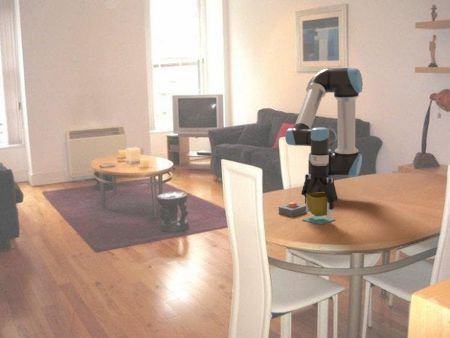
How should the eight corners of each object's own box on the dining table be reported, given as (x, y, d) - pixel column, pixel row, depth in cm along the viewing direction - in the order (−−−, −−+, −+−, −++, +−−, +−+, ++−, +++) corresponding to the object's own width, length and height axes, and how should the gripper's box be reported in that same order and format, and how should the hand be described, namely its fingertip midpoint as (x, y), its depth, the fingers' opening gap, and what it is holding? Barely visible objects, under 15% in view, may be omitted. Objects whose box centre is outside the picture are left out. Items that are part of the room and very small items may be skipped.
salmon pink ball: (292, 210, 247) (292, 201, 246) (298, 211, 244) (298, 203, 243) (286, 211, 244) (286, 203, 244) (292, 213, 241) (292, 204, 241)
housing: (293, 209, 250) (293, 202, 250) (306, 212, 244) (306, 205, 244) (278, 213, 244) (278, 206, 243) (291, 216, 238) (291, 210, 237)
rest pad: (316, 215, 239) (317, 214, 239) (335, 220, 231) (335, 219, 231) (302, 220, 232) (302, 219, 232) (320, 225, 225) (320, 224, 225)
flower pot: (314, 218, 226) (314, 198, 224) (305, 213, 234) (305, 193, 233) (332, 216, 228) (333, 196, 227) (323, 211, 237) (323, 191, 235)
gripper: (293, 161, 233) (293, 210, 237) (336, 168, 216) (335, 221, 220) (304, 159, 238) (303, 207, 242) (347, 166, 221) (346, 217, 225)
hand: (318, 213), depth 231 cm, fingers closed on flower pot, 11 cm apart
